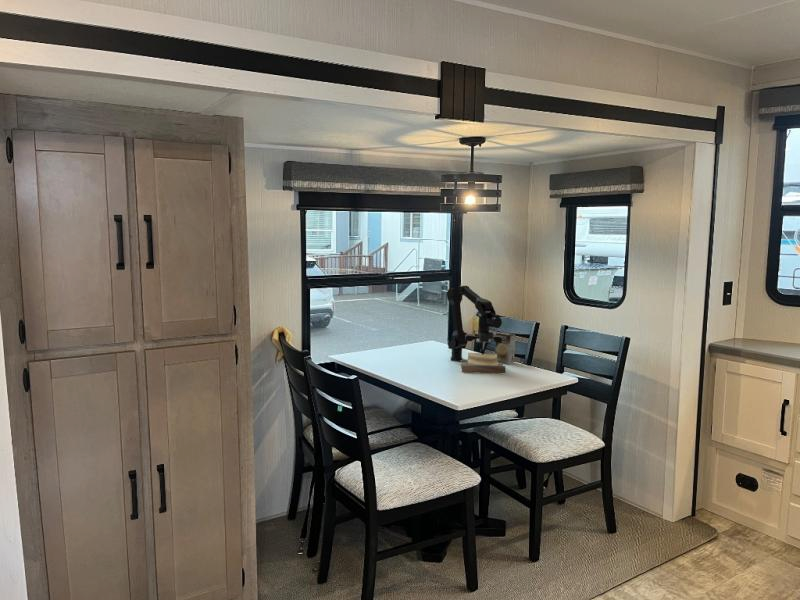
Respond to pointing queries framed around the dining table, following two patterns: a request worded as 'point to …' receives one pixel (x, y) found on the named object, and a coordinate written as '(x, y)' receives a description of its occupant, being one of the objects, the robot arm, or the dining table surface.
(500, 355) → the coffee box
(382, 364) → the dining table surface
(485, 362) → the tan rectangular panel
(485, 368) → the floor board
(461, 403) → the dining table surface
